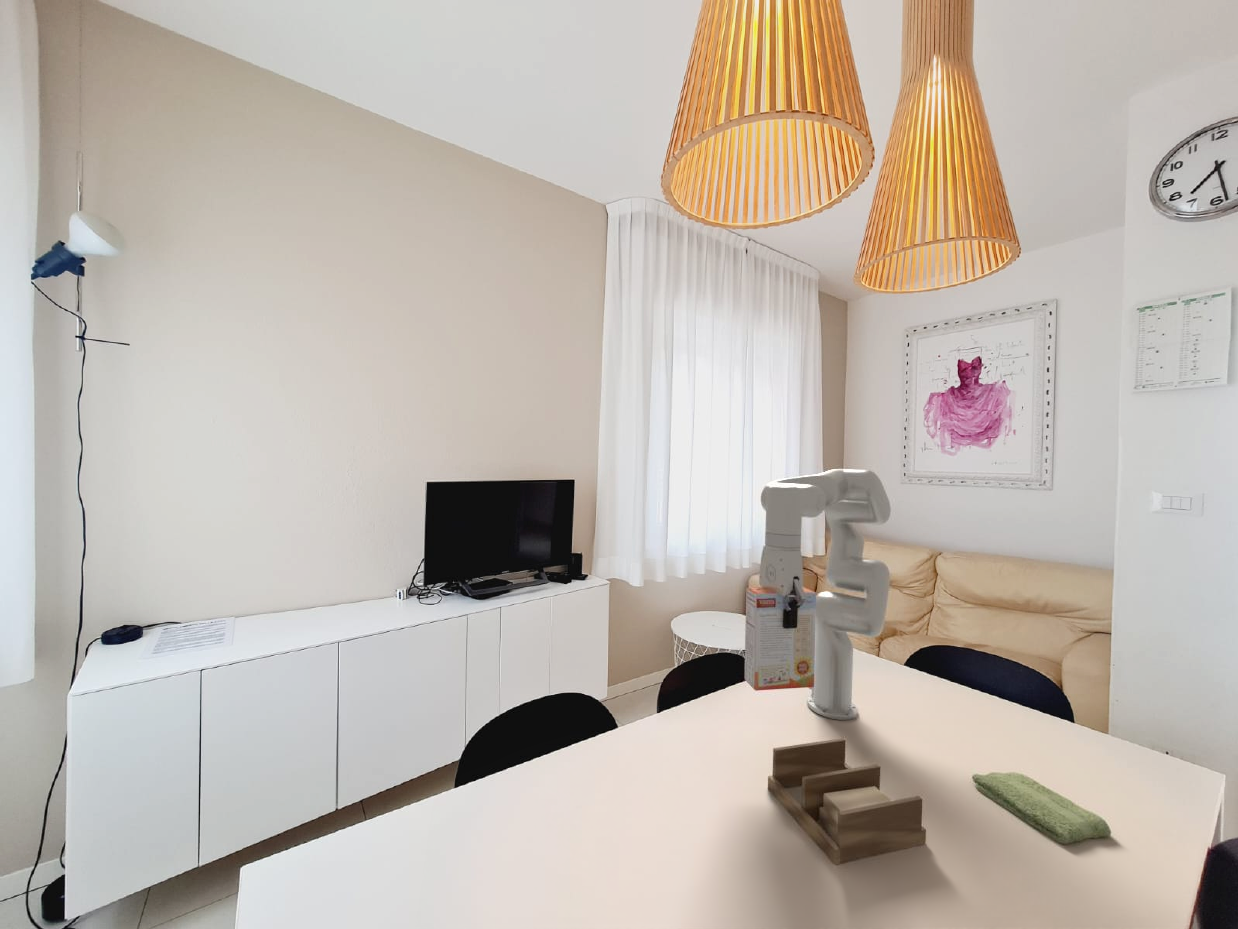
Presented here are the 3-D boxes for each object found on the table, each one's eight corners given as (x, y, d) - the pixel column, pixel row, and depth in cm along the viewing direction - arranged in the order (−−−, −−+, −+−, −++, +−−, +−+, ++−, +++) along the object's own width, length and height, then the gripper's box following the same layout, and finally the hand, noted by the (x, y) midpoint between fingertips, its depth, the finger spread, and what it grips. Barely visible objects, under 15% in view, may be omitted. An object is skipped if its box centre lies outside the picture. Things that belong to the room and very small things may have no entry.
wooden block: (818, 822, 89) (819, 790, 89) (877, 818, 90) (878, 786, 90) (839, 851, 82) (840, 815, 82) (902, 845, 84) (903, 810, 84)
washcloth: (1014, 778, 104) (1015, 763, 104) (1115, 840, 87) (1116, 822, 87) (966, 785, 101) (967, 770, 101) (1061, 851, 84) (1062, 833, 84)
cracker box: (800, 676, 110) (803, 585, 110) (815, 688, 104) (818, 592, 104) (742, 679, 108) (745, 585, 108) (754, 691, 102) (757, 593, 102)
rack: (767, 788, 97) (769, 749, 97) (845, 775, 103) (846, 737, 103) (834, 865, 79) (836, 816, 79) (925, 843, 84) (927, 798, 84)
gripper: (746, 535, 113) (744, 611, 113) (792, 548, 97) (789, 637, 97) (774, 535, 115) (772, 610, 115) (824, 547, 99) (821, 635, 99)
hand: (780, 621), depth 106 cm, fingers closed on cracker box, 6 cm apart
